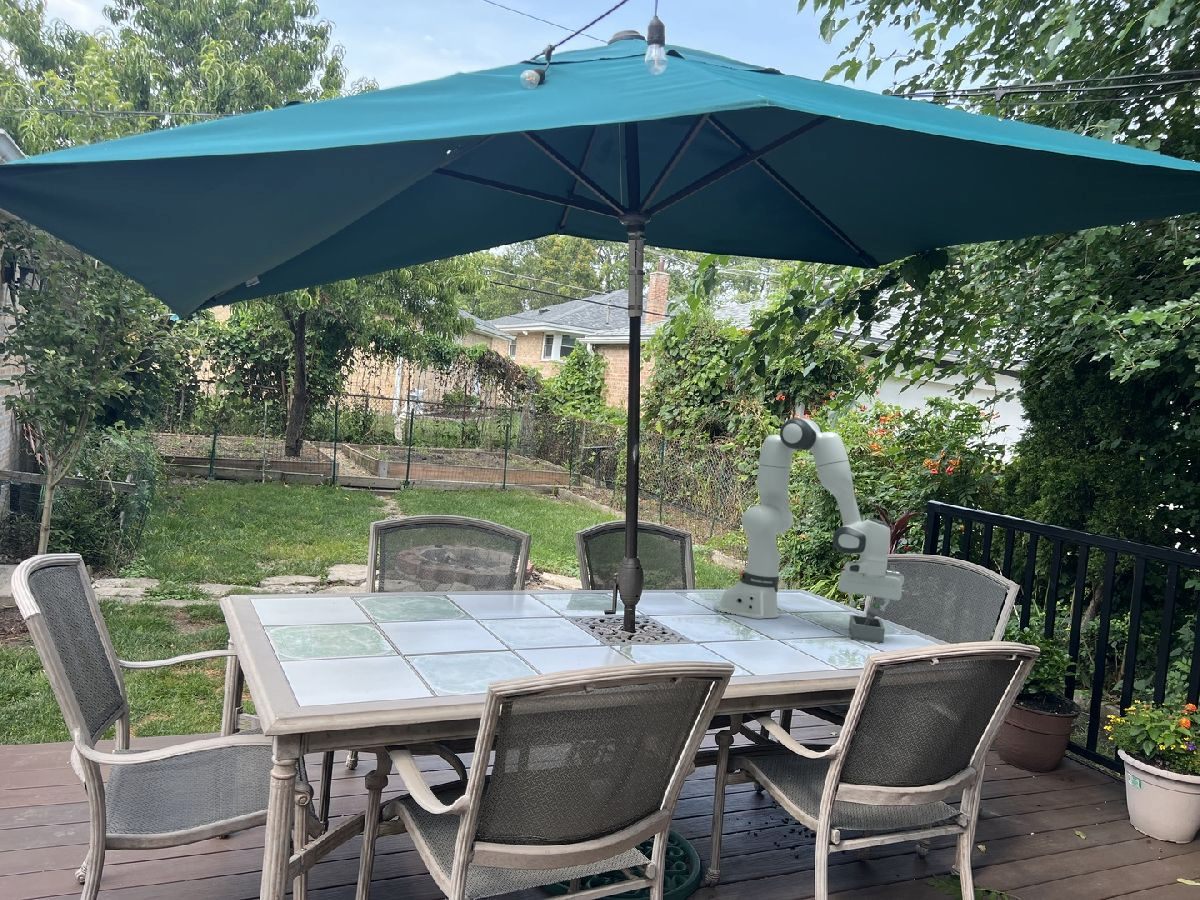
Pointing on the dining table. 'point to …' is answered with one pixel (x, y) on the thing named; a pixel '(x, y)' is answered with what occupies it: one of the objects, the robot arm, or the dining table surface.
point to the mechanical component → (872, 612)
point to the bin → (866, 629)
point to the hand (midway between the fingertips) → (867, 609)
